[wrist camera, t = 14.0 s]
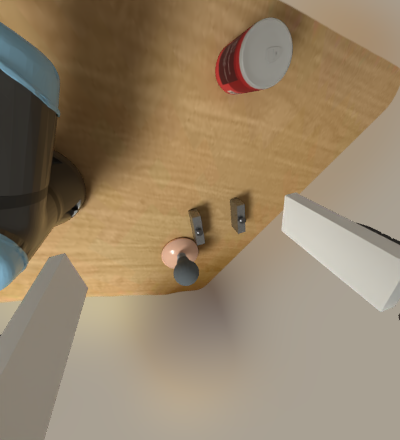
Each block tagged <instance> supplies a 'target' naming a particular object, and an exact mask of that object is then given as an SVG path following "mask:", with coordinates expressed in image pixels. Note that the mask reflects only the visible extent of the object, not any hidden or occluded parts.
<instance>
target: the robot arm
mask: <svg viewBox="0 0 400 440" xmlns="http://www.w3.org/2000/svg"><path fill="white" fill-rule="evenodd" d="M59 91H60V79H59V75H58V72H57V71H56V69H55V67H54V65H53V64H52V63H51V62H50V60H49V59H48V58H47V57H46V56H45V55H44V54H43V53H42V52H40V51H39V50H38V49H37V48H36V47H34V46H33V45H32V44H31V43H29V42H28V41H26V40H25V39H24V38H22V37H21V36H20V35H18V34H17V33H15V32H14V31H13V30H11V29H10V28H8V27H7V26H5V25H4V24H3V23H1V22H0V290H2V289H4V288H5V287H7V286H8V285H9V284H10V283H11V282H12V281H13V280H14V279H15V278H16V277H17V276H18V275H19V274H20V273H21V272H22V271H23V270H24V269H25V268H26V267H27V264H28V262H29V261H30V259H31V258H32V256H33V255H34V254H35V252H36V251H37V250H38V248H39V247H40V245H41V244H42V243H43V241H44V240H45V239H46V237H47V236H48V234H49V233H50V232H51V230H52V229H53V227H55V226H57V225H60V224H62V223H64V222H66V221H68V220H70V219H71V218H72V217H73V216H75V215H76V214H77V212H78V211H79V210H80V208H81V206H82V205H83V202H84V200H85V194H86V190H85V184H84V181H83V178H82V176H81V174H80V173H79V171H78V170H77V168H76V167H75V166H74V165H73V164H72V163H71V162H70V161H69V160H68V159H67V158H66V157H64V156H63V155H61V154H60V153H58V152H56V151H55V150H53V148H54V140H55V132H56V124H57V117H60V111H59V109H58V105H59ZM282 231H283V232H284V233H285V234H286V235H288V236H289V237H290V238H291V239H292V240H294V241H295V242H296V243H297V244H298V245H300V246H301V247H302V248H303V249H305V250H306V251H307V252H308V253H309V254H311V255H312V256H313V257H314V258H316V259H317V260H318V261H319V262H320V263H322V264H323V265H324V266H325V267H326V268H328V269H329V270H330V271H331V272H333V273H334V274H335V275H336V276H337V277H339V278H340V279H341V280H342V281H343V282H345V283H346V284H347V285H348V286H350V287H351V288H352V289H353V290H355V291H356V292H357V293H358V294H360V295H361V296H362V297H363V298H364V299H365V300H367V301H368V302H369V303H370V304H372V305H373V306H374V307H375V308H376V309H378V310H379V311H380V312H382V311H385V310H387V309H389V308H392V307H394V306H396V304H397V302H398V301H399V299H400V241H397V240H395V239H394V238H393V239H392V238H391V237H390V236H388V235H385V234H382V233H381V232H379V231H377V230H375V229H373V228H371V227H368V226H365V225H362V224H359V223H355V222H353V221H351V220H349V219H347V218H345V217H343V216H341V215H339V214H337V213H335V212H333V211H331V210H329V209H327V208H325V207H323V206H321V205H319V204H317V203H315V202H313V201H311V200H309V199H307V198H305V197H303V196H301V195H299V194H297V193H292V194H288V195H285V202H284V212H283V222H282ZM87 290H88V287H87V286H86V284H85V283H84V281H83V280H82V278H81V277H80V275H79V274H78V272H77V271H76V269H75V268H74V266H73V265H72V263H71V262H70V260H69V259H68V257H67V256H66V254H65V253H64V254H60V255H57V256H53V257H49V259H48V260H47V262H46V263H45V265H44V267H43V268H42V270H41V271H40V273H39V275H38V276H37V278H36V280H35V281H34V283H33V284H32V286H31V288H30V289H29V291H28V292H27V294H26V296H25V297H24V299H23V300H22V302H21V304H20V305H19V307H18V309H17V310H16V312H15V313H14V315H13V317H12V318H11V320H10V322H9V323H8V325H7V326H6V328H5V329H4V331H3V333H2V334H1V335H0V440H44V438H45V435H46V432H47V428H48V425H49V421H50V418H51V414H52V411H53V407H54V404H55V400H56V397H57V393H58V390H59V386H60V383H61V379H62V376H63V372H64V369H65V366H66V362H67V359H68V355H69V352H70V349H71V345H72V342H73V338H74V335H75V331H76V328H77V324H78V320H79V317H80V314H81V310H82V307H83V304H84V300H85V297H86V293H87ZM399 320H400V314H399Z"/></svg>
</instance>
